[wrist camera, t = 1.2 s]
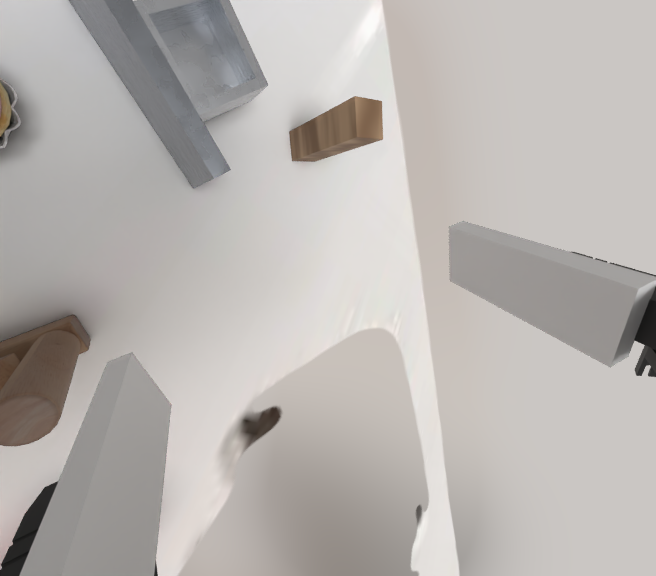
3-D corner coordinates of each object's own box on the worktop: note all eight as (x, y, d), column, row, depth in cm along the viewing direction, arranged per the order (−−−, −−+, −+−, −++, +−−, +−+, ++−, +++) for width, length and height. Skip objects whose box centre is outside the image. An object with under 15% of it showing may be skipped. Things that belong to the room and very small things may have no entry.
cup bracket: (64, -7, 29) (44, -97, 21) (168, -29, 33) (185, -111, 25) (193, 188, 38) (214, 178, 30) (261, 152, 42) (296, 134, 34)
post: (292, 160, 45) (356, 137, 33) (289, 131, 44) (354, 96, 32) (314, 161, 47) (382, 139, 35) (312, 133, 46) (381, 101, 34)
